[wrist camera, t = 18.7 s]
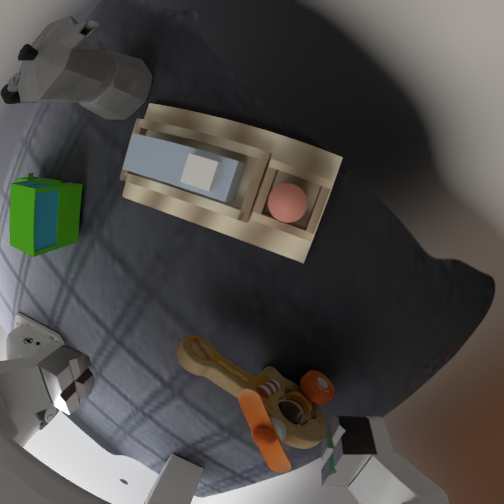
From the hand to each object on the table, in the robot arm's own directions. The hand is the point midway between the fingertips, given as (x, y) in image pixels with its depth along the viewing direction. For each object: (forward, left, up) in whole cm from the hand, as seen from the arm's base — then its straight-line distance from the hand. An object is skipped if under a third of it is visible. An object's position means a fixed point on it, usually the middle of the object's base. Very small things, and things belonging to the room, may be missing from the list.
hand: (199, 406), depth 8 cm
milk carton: (-1, -51, -25) cm, 57 cm away
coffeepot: (-26, +12, -25) cm, 38 cm away
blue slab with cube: (-11, +5, -24) cm, 27 cm away
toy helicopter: (+5, -16, -25) cm, 30 cm away
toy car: (-33, -6, -25) cm, 42 cm away
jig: (-8, +5, -25) cm, 26 cm away
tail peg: (0, +5, -24) cm, 24 cm away
